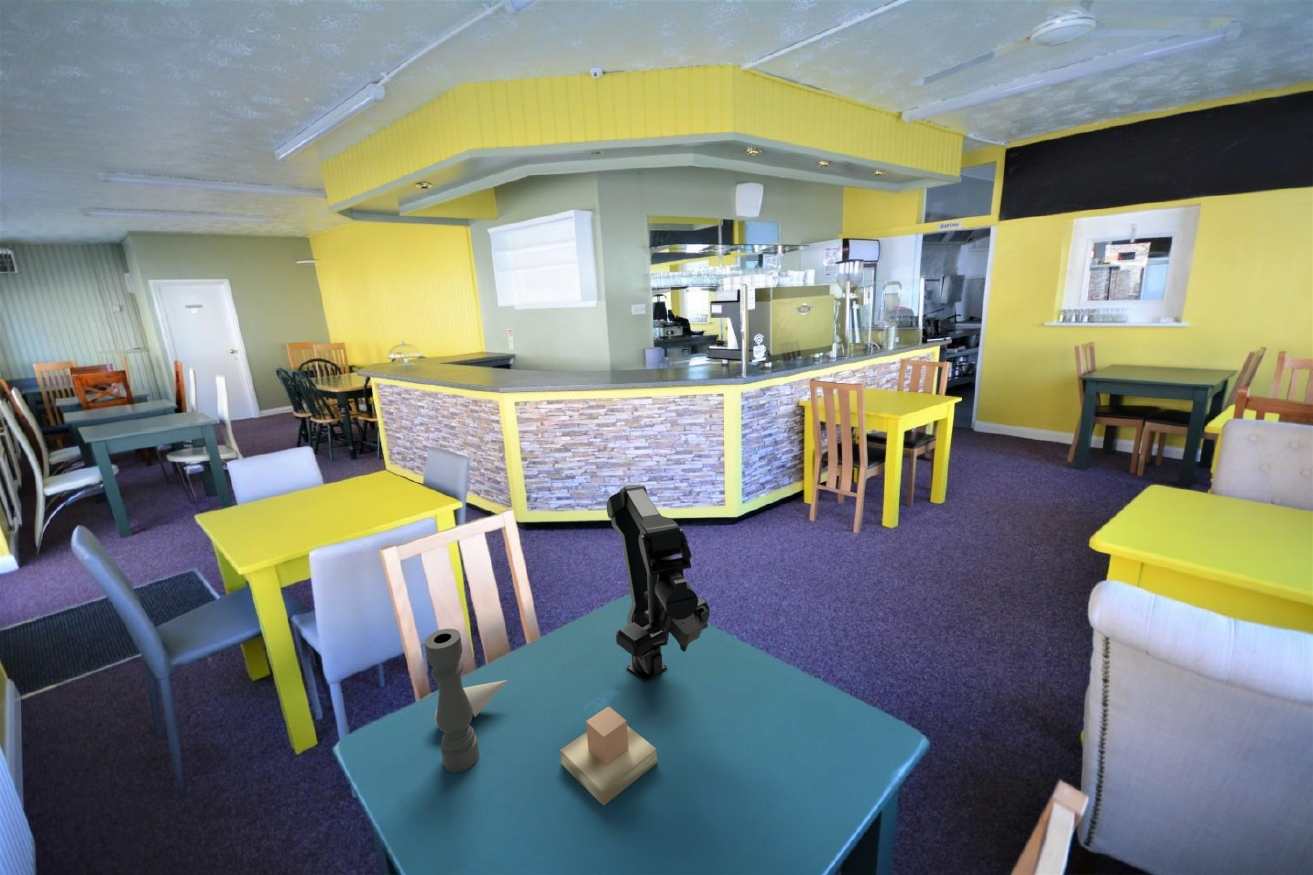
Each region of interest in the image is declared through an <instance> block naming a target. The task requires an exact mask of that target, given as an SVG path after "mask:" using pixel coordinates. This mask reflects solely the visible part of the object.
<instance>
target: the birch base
mask: <svg viewBox="0 0 1313 875" xmlns="http://www.w3.org/2000/svg"><path fill="white" fill-rule="evenodd" d="M627 733H628V750H627V751H626V752H624V753H623V754H622V755H620V756H619V757H618V758H616V759H615V760H614V761H612V762H611V763H610V764H608V765H607V766H606V765H604V764H603V763H602V762H601V761H600V760H599V759H598V758H597V757H596V756H595V755H594V754H592V753H591V752H590V751H589V750H588V740H587V731H586V732H585V733H583V734H582V735H579V736H578V737H577V738H575V739H574V740H572V741H571V742H569V743H568V744H567V745H565V746H564V747H562V748H561V749H560V750H559V752H560V754H559V755H560V763H561V765H562V766H563V767H564V768H565V769H566V770H567V771H568V772H569V773H570V774H571V775H572V776H573V777H574V778H575V779H576V780H577V781H578V782H579V783H580V784H581V786H583V787H584V788H585V789H586V790H587V791H588V792H589V793H590V794H591V795H592V796H593V797H594V798H595V799H596V800H597V801H598V802H599V803H600V804H601V805H602V806H604V807H605V806H606V805H607V804H608V803H610V802H611V800H613V799H614V798H616V797H617V796H618V795H619V794H621V793H622V792H623V791H624V790H625V789H627V788H628V787H629V786H631V785H632V784H633V783H634V782H635V781H637V780H638V779H639V778H640V777H641V776H643V775H644V774H645V773H647V772H648V771H649V770H650V769H651V768H653V767H654V766H655V765H656V764H658V755H657V754H658V753H657V752H658V751H657V748H656V747H655V746H653V745H652V744H651V743H650V742H649V741H647V740H646V738H643V736H641V735H640V734H639V733H637V732H636V731H635V730H634V729H632V728H631V727H629V726H628V725H627Z"/></svg>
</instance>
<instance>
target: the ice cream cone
mask: <svg viewBox="0 0 1313 875" xmlns="http://www.w3.org/2000/svg"><path fill="white" fill-rule="evenodd" d="M508 681H509V679H506V680H499V681H494V682H489V683H484V684H476V685H471V686H467V687H463V689H464V691H465V693H466V695H467V698H468V700H469V702H470V704H471V706H472V708H473V716H472V717H473V718H476V717H477V716H478V715H479V713H480V712H481V711H482V710H483V709H484V708H485V707H486V706H487V704H488V703H489V702H490V701H491V700H492V699H493V698H494V697H495V695H496V694H498V692H499V691H500V690H501V689H502V688H503V687H504V685H505V684H506V683H508ZM436 717H437V709H436V710H435V712H434V721H435V724H436V725H437V722H436Z"/></svg>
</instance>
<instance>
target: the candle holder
mask: <svg viewBox="0 0 1313 875" xmlns="http://www.w3.org/2000/svg"><path fill="white" fill-rule="evenodd" d="M424 647H425V653H426V658H427V659H426V660H427V661H428V663H429V664H430V666H431V667H433V668H432V670H431V677H432V679H433V680H434V681H435V682H436V683H437V689H438V699H437V700H438V701H437V708H436V710H437V717H436V722H437V724H436V725H437V727H438V728H439V730H440V731H441V732H443V736H442V737H441V750H440V752H441V757H442V762H443V763H442V764H443V767H444V769H445V770H446V772H449V773H455V774H458V773H463V772H465V771H468V770H469V769H471V768H472V767H473V766H474V765H475V764H477V763H478V762H477V761H478V760H479V759H480V749H479V741H478V737H477V735H476V733H475V732H476V731H475V730H474V728H473V726H472V725H470V724H471V722H472V719H473V717H474V716H473V708H472V706H471V704H470V702H469V700H468V698H467V695H466V693H465V691H464V689H463V688H464V686H463V682H462V675H461V674H462V673H463V671H464V663H463V662H462V661H461V657H462V654H463V645H462V637H461V632H460V631H459V630H458V629H455V628H442V629H439V630H436V631H434V632H432V633H431V634H429V635H428V636H427V637H426V638H425V641H424ZM436 722H435V723H436Z"/></svg>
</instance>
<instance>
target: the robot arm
mask: <svg viewBox="0 0 1313 875" xmlns="http://www.w3.org/2000/svg"><path fill="white" fill-rule="evenodd" d="M606 513H607V516H608V518H609V519H610V521H611V526H612V528H613V529H614V530H615V531H616V532H617V533H618V535H619V536H620V538H621V542H622V543H621V545H622V549H623V555H624V556H623V557H624V561H625V568H626V573H627V579H628V587H629V591H630V598H631V607H630V609H629V612H628V615H627V619H626V620H627V625H626V626H624V627H622V628H620V629H618V630H617V631H616V633H615V634H616V635H615V639H616V642H615V643H616V644H617V645H618V646H620V648H622V649H623V650H625V651H626V652H628V653H629V654H630V655H631V663H629V664H627V665H626V669H627V670H628V671H629V672H630V673H633V674H635V675H636V676H637V677H638V678H640V679H641V680H643V681H644V682H647V681H649V680H651V679H652V678H654V677H655V676H657V675H659V674H660V673H661V672H664V670H666V669H667V667H668V665H667V664H666V663H664V662H663V654H662V647H663V646H664V647H665V646H667V645H668V642H669V635H670V634H671V636H672V637H673V638H674V639H675V640H676V641H677V643H678V645H679V647H680V650H681V651H682V652H687V649H688V646H689V644H690V643H692V642H693V641H695V640H698V639H699V638H700V637H701V634H702V631H703V630H705V629H706V628H708V627H709V624H708V623H709V622H708V621H709V617H710V606H709V603H708V602H707V601H705V600H704V599H702V598H700V597H699V596H698V595H697V593H696V592H695V590H694V589H693V588H692V587H691V584H690V583H689V582H688V581H687V579H686V578H685V576H684V570H687V569H691V568H692V564H691V559H692V553H691V550H690V546H689V543H688V539H687V536H686V533H684V530H683V529H682V528H681V527H680V526H679V525H678V524H677V522H676V521H674V519H672V518H670V517H668V516H664V515H662V514H661V513H660V511H659V510H658V508H657V506H655V503H654V502H653V501H652V499H651V498H650V496H649V495H648V492H647V488H646V485H643V484H636V485H635V484H634V485H628V486H623V487H622V488H620V489H619V491H618V492H616V493H615V494H613V495H611V496H609V497H608V499H607V502H606ZM679 555H681V557H678V558H673V556H674V557H675V556H679ZM635 675H634V676H635Z"/></svg>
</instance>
